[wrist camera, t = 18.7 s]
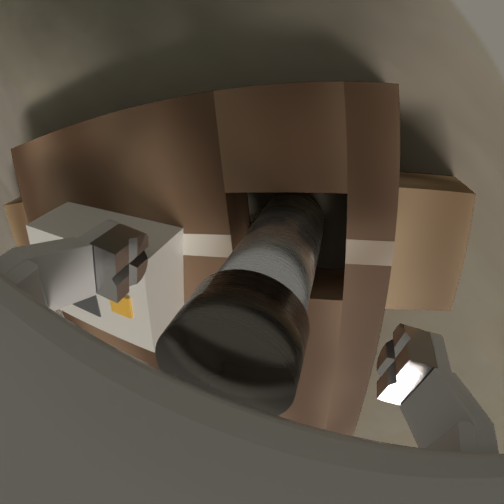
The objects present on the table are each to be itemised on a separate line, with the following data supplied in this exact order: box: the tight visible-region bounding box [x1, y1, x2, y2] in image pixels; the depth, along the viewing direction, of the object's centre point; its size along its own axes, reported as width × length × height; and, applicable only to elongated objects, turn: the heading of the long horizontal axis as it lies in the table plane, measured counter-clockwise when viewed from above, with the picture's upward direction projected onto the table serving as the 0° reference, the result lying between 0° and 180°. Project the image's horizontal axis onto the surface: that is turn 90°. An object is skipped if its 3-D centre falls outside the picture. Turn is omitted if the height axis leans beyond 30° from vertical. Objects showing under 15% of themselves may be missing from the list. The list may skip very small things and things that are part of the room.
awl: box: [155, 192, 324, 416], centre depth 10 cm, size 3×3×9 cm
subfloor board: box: [4, 81, 476, 436], centre depth 17 cm, size 26×23×2 cm
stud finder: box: [26, 202, 184, 353], centre depth 13 cm, size 7×4×3 cm, turn 84°
